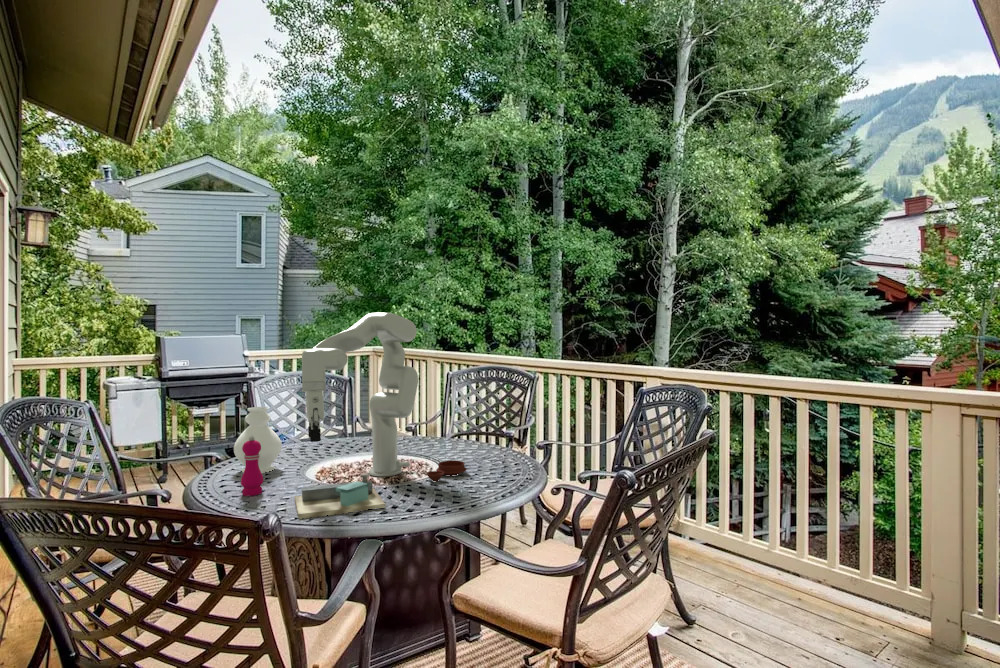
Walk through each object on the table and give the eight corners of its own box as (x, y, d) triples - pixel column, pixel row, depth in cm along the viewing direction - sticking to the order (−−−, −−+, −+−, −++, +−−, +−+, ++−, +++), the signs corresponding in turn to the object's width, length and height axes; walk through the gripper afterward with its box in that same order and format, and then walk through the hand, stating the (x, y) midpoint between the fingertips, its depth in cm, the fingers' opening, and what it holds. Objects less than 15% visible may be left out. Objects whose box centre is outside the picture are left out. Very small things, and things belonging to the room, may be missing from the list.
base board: (373, 492, 206) (373, 469, 206) (385, 508, 187) (385, 483, 187) (294, 500, 196) (294, 477, 196) (298, 519, 178) (298, 492, 177)
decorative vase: (288, 464, 247) (287, 404, 247) (272, 475, 229) (272, 411, 229) (244, 465, 247) (244, 405, 246) (226, 476, 229) (225, 411, 229)
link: (371, 490, 202) (371, 480, 202) (373, 494, 197) (373, 483, 197) (301, 497, 194) (301, 487, 193) (302, 502, 189) (302, 491, 189)
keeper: (357, 496, 195) (357, 481, 195) (368, 499, 192) (368, 483, 192) (336, 503, 188) (335, 487, 188) (347, 506, 185) (347, 490, 185)
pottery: (472, 473, 232) (472, 461, 232) (443, 485, 215) (443, 473, 214) (447, 469, 238) (447, 458, 238) (417, 481, 220) (417, 469, 220)
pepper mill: (245, 490, 208) (244, 434, 208) (266, 490, 209) (265, 433, 209) (237, 496, 201) (237, 438, 201) (259, 496, 202) (259, 437, 201)
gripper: (328, 388, 192) (328, 443, 193) (322, 383, 209) (323, 434, 209) (304, 389, 190) (304, 445, 190) (300, 384, 206) (300, 435, 206)
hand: (314, 439), depth 199 cm, fingers open, 6 cm apart
